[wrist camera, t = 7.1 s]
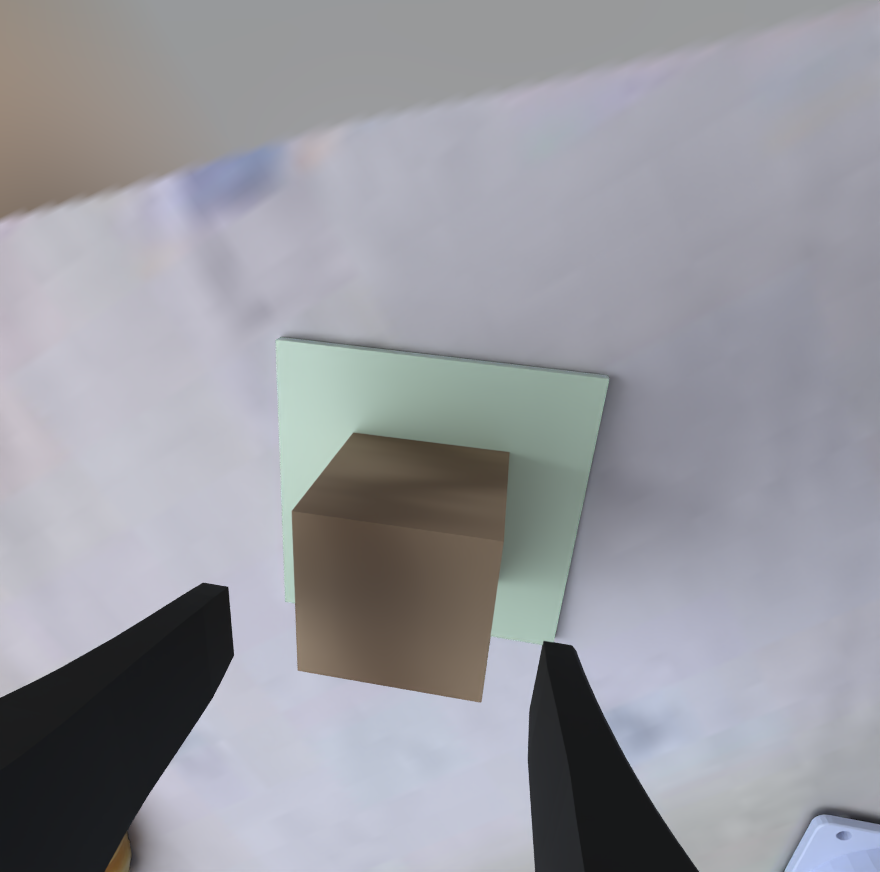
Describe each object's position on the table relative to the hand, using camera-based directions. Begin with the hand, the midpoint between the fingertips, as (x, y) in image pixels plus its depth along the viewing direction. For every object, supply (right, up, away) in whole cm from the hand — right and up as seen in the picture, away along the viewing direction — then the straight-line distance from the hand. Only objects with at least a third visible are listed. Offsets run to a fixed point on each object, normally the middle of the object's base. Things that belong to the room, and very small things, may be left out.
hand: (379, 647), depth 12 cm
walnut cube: (+1, +2, +6) cm, 6 cm away
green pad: (+1, +3, +6) cm, 7 cm away
